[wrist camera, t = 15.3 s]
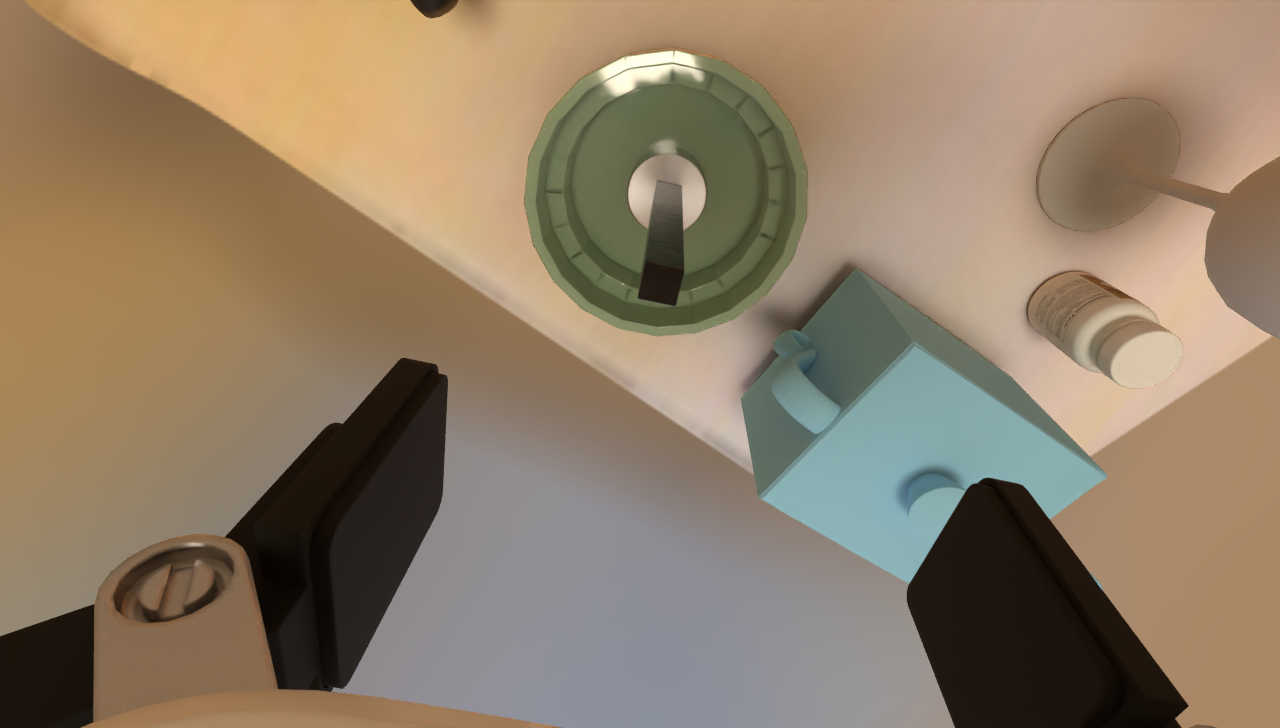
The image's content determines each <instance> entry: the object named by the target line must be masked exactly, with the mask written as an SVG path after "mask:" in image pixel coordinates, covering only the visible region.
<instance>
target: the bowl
mask: <svg viewBox="0 0 1280 728" xmlns="http://www.w3.org/2000/svg"><path fill="white" fill-rule="evenodd" d="M666 146H669V147H677V148H680V149H683V150H685V151H687V152H688V153H690V154H691V155H692V156H693V157H694V158H695V159H696V160H697V161H698V162H699V164H700V165H701V167H702V169H703V172H704V176H705V181H706V186H707V201H706V205H705V208H704V210H703V213H702V214H701V216H700V217H699V219H698V220H697V221H696V222H695V223H694V224H693V225H692V226H691V227H689V228H688V229H686V230H684V231H683V236H684V270H685V272H684V276H683V280H682V284H681V288H680V292H679V296H678V300H677V304H676V306H670V305H666V304H661V303H656V302H651V301H646V300H641V299H638V291H639V284H640V278H641V272H642V265H643V259H644V252H645V246H646V239H647V233H648V229H646V228H644V227H643V226H642V225H640V224H639V223H638V222H637V220H636V219H635V218H634V216H633V215H632V213H631V211H630V208H629V205H628V201H627V187H628V183H629V180H630V177H631V174H632V171H633V169H634V167H635V165H636V163H637V162H638V161H639V159H640V158H641V157H642V156H644V155H645V154H646V153H648V152H649V151H651V150H653V149H656V148H659V147H666ZM807 190H808V171H807V167H806V164H805V160H804V157H803V154H802V151H801V148H800V145H799V142H798V139H797V136H796V132H795V129H794V127H793V125H792V123H791V122H790V121H789V119H788V118H787V117H786V115H785V114H784V113H783V111H782V110H781V109H780V107H779V106H778V105H777V103H776V102H775V101H774V99H773V98H772V97H771V95H770V94H769V93H768V91H767V90H766V89H765V88H764V87H763V86H762V85H761V84H759V83H757V82H756V81H754V80H753V79H751V78H750V77H748V76H747V75H745V74H744V73H742V72H741V71H739V70H737V69H736V68H734V67H733V66H731V65H730V64H728V63H727V62H725V61H723V60H721V59H719V58H717V57H715V56H710V55H706V54H701V53H697V52H693V51H688V50H684V49H679V48H666V49H658V50H651V51H643V52H635V53H631V54H628V55H625V56H622V57H620V58H619V59H617V60H615V61H613V62H611V63H609V64H607V65H605V66H603V67H601V68H599V69H597V70H595V71H594V72H592V73H590V74H588V75H586V76H584V77H582V78H581V79H580V80H579V81H578V82H577V83H576V84H575V85H574V86H573V87H572V88H571V89H570V90H569V91H568V92H567V93H566V95H565V96H564V97H563V98H562V99H561V100H560V101H559V102H558V103H557V104H556V105H555V106H554V107H553V108H552V110H551V111H550V112H549V113H548V114H547V116H546V119H545V121H544V123H543V125H542V128H541V130H540V132H539V134H538V136H537V139H536V141H535V143H534V145H533V148H532V150H531V152H530V154H529V157H528V167H527V176H526V186H525V195H524V204H525V209H526V214H527V219H528V223H529V228H530V233H531V238H532V243H533V245H534V247H535V249H536V251H537V253H538V254H539V256H540V258H541V260H542V262H543V263H544V265H545V267H546V269H547V271H548V273H549V274H550V276H551V278H552V280H553V281H554V282H555V283H556V284H557V285H558V286H559V287H560V288H561V289H562V290H563V291H564V292H565V293H566V294H567V295H568V296H569V297H570V298H571V299H572V300H573V301H574V302H575V303H576V304H577V305H578V306H579V307H580V308H581V309H583V310H584V311H586V312H588V313H590V314H592V315H594V316H596V317H598V318H600V319H601V320H603V321H605V322H607V323H609V324H611V325H613V326H615V327H617V328H619V329H623V330H628V331H633V332H638V333H643V334H648V335H653V336H666V335H678V334H690V333H698V332H701V331H703V330H706V329H709V328H711V327H714V326H716V325H719V324H722V323H724V322H727V321H729V320H732V319H734V318H736V317H737V316H739V315H740V314H741V313H743V312H744V311H745V310H747V309H748V308H749V307H751V306H752V305H753V304H754V303H756V302H757V301H758V300H760V299H761V298H762V297H764V296H765V295H766V294H767V293H768V292H769V291H770V290H771V288H772V287H773V286H774V284H775V283H776V281H777V280H778V279H779V277H780V276H781V274H782V273H783V272H784V270H785V269H786V267H787V266H788V265H789V263H790V262H791V261H792V259H793V257H794V254H795V251H796V248H797V245H798V242H799V239H800V236H801V233H802V230H803V227H804V224H805V221H806V218H807V217H806V216H807Z"/></svg>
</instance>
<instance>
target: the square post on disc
mask: <svg viewBox="0 0 1280 728" xmlns="http://www.w3.org/2000/svg"><path fill="white" fill-rule="evenodd" d="M627 201H628V205H629V208H630V211H631V213H632V215H633V216H634V218H635V219H636V220H637V222H638V223H639V224H640V225H642V226H643V227H644V228H646V229H648V233H647V239H646V246H645V252H644V259H643V265H642V272H641V278H640V284H639V291H638V299H641V300H646V301H651V302H656V303H661V304H666V305H670V306H676V304H677V300H678V296H679V292H680V288H681V284H682V280H683V276H684V272H685V270H684V236H683V231H684V230H686V229H688V228H689V227H691V226H692V225H693V224H694V223H695V222H696V221H697V220H698V219H699V217H700V216H701V214H702V213H703V210H704V208H705V205H706V201H707V186H706V181H705V176H704V172H703V169H702V167H701V165H700V164H699V162H698V161H697V160H696V159H695V158H694V157H693V156H692V155H691V154H690V153H688V152H687V151H685V150H683V149H680V148H677V147H669V146H666V147H659V148H656V149H653V150H651V151H649V152H648V153H646V154H645V155H644V156H642V157H641V158H640V159H639V161H638V162H637V163H636V165H635V167H634V169H633V171H632V174H631V177H630V180H629V183H628V187H627Z"/></svg>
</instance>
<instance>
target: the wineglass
mask: <svg viewBox="0 0 1280 728" xmlns="http://www.w3.org/2000/svg"><path fill="white" fill-rule="evenodd" d="M1179 147H1180V137H1179V133H1178V128H1177V124H1176V123H1175V121H1174V120H1173V118H1172V117H1171V115H1170V113H1169V112H1167V111H1166V110H1165V109H1163V108H1162V107H1161V106H1160V105H1158V104H1156V103H1153V102H1150V101H1147V100H1144V99H1131V98H1122V99H1117V100H1112V101H1107V102H1104V103H1102V104H1100V105H1097V106H1095V107H1093V108H1090V109H1088V110H1087V111H1085V112H1084V113H1082V114H1081V115H1079V116H1078V117H1076V118H1075V119H1073V120H1072V121H1071V122H1070V123H1069V124H1068V125H1067V126H1066V127H1065V128H1064V129H1063V130H1062V131H1060V132H1059V133H1058V135H1057V136H1056V137H1055V139H1054V140H1053V142H1052V143H1051V144H1050V146H1049V147H1048V149H1047V151H1046V153H1045V155H1044V157H1043V159H1042V162H1041V164H1040V167H1039V172H1038V176H1037V196H1038V199H1039V202H1040V205H1041V207H1042V209H1043V210H1044V212H1045V213H1046V214H1047V216H1048V217H1049V218H1050V219H1052V220H1053V221H1055V222H1056V223H1057V224H1059V225H1060V226H1062V227H1066V228H1069V229H1072V230H1075V231H1096V230H1102V229H1107V228H1110V227H1112V226H1115V225H1118V224H1120V223H1123V222H1125V221H1126V220H1128V219H1130V218H1131V217H1133V216H1135V215H1136V214H1138V213H1140V212H1141V211H1142V210H1143V209H1144V208H1145V207H1147V206H1148V205H1149V204H1150V203H1151V202H1152V201H1153V200H1154V199H1155V198H1156V197H1157V196H1158V194H1159V193H1163V194H1167V195H1170V196H1173V197H1176V198H1179V199H1182V200H1185V201H1189V202H1192V203H1195V204H1198V205H1201V206H1204V207H1207V208H1210V209H1212V210H1214V211H1215V214H1214V215H1213V217H1212V220H1211V223H1210V225H1209V228H1208V231H1207V239H1206V249H1205V260H1204V261H1205V265H1206V269H1207V274H1208V277H1209V279H1210V280H1211V282H1212V284H1213V285H1214V287H1215V288H1216V290H1217V292H1218V293H1219V294H1220V296H1221V297H1222V299H1223V300H1224V302H1225V303H1226V305H1227V306H1228V307H1229V308H1231V309H1232V310H1234V311H1235V312H1237V313H1238V314H1239V315H1241V316H1242V317H1244V318H1245V319H1247V320H1248V321H1250V322H1251V323H1252V324H1254V325H1255V326H1257V327H1258V328H1260V329H1261V330H1263V331H1265V332H1267V333H1269V334H1271V335H1273V336H1275V337H1277V338H1279V339H1280V157H1278V158H1276V159H1274V160H1273V161H1271V162H1269V163H1268V164H1266V165H1264V166H1263V167H1261V168H1259V169H1258V170H1256V171H1255V172H1253V173H1252V174H1250V175H1249V176H1248V177H1246V178H1245V179H1244V180H1243V181H1242V182H1240V183H1239V184H1238V185H1237V186H1235V187H1234V188H1233V190H1232V191H1231V192H1230V193H1220V192H1217V191H1213V190H1209V189H1206V188H1202V187H1199V186H1195V185H1192V184H1188V183H1185V182H1181V181H1178V180H1174V179H1171V178H1170V177H1171V175H1172V173H1173V172H1174V169H1175V166H1176V163H1177V159H1178V156H1179Z"/></svg>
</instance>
